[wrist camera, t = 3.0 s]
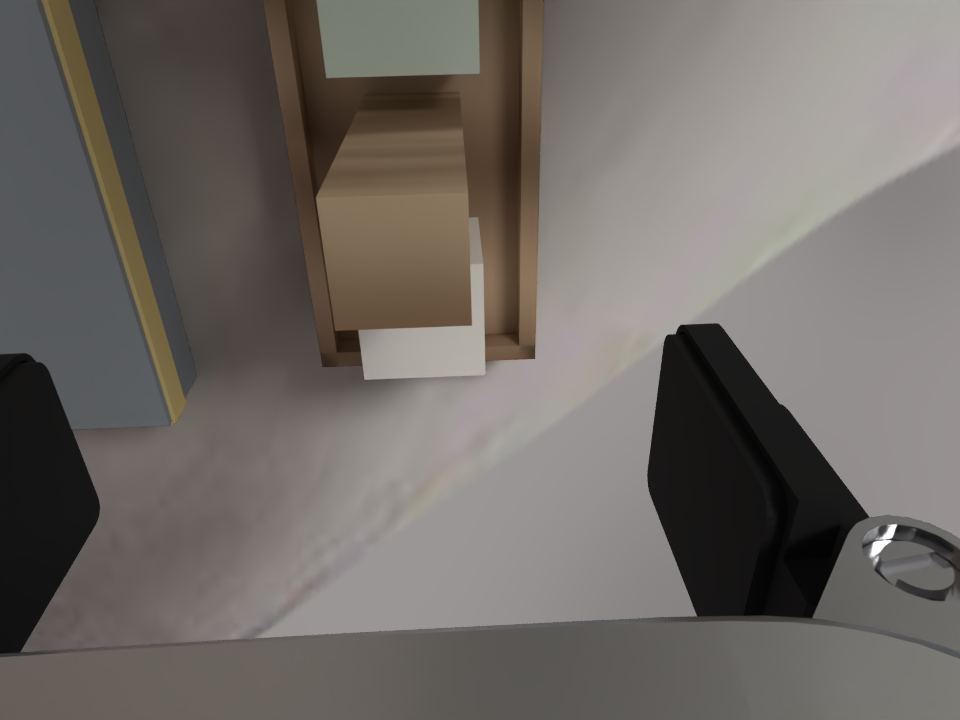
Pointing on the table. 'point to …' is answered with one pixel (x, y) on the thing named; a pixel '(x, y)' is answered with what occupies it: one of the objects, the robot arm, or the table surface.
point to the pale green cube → (399, 37)
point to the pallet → (486, 158)
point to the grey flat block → (81, 228)
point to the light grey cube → (432, 338)
